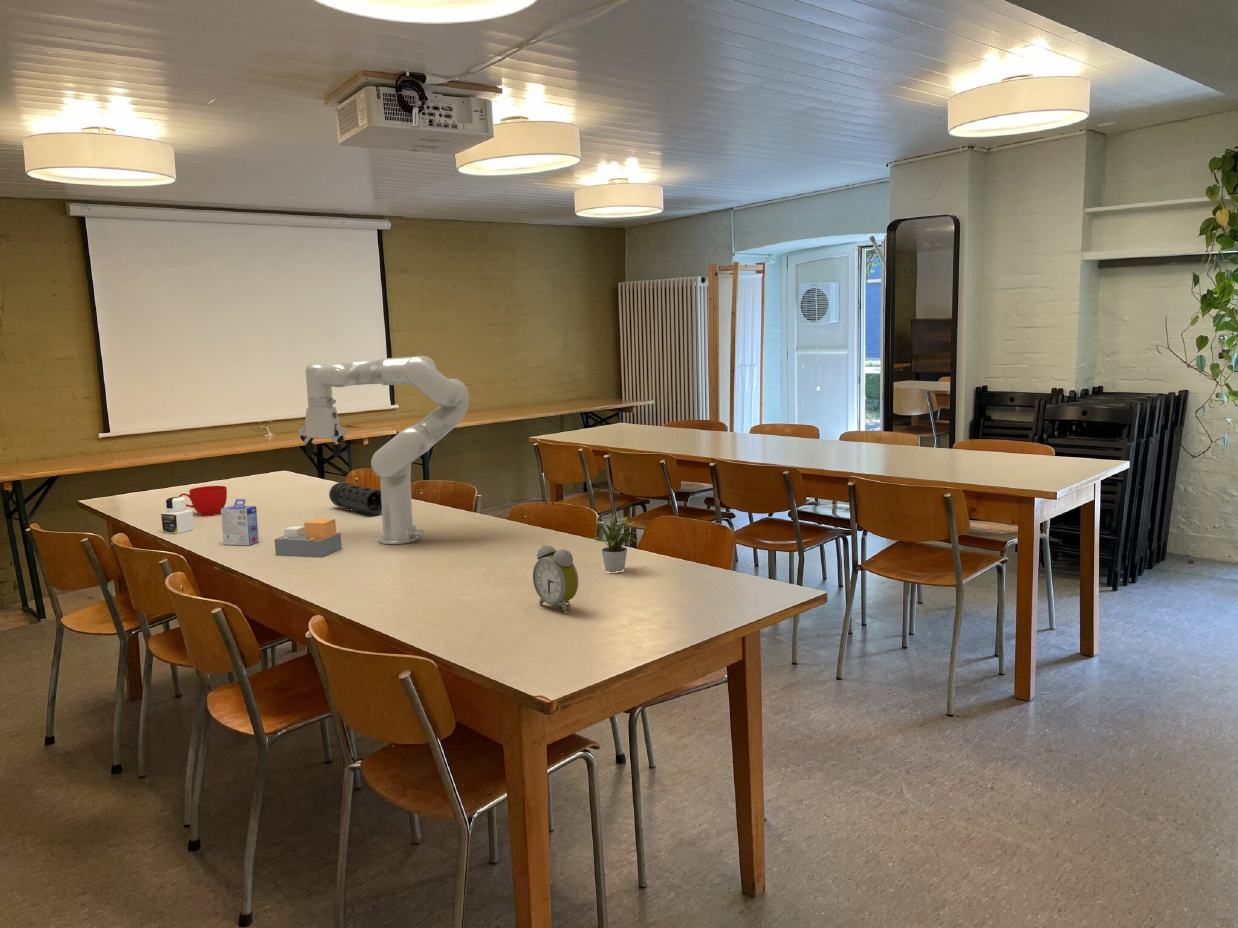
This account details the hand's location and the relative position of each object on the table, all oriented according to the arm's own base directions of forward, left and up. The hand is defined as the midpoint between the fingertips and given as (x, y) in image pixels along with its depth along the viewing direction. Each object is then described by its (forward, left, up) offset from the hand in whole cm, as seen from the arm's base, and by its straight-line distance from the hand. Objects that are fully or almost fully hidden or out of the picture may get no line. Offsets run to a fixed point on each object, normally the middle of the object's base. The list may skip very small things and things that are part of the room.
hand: (324, 456), depth 279 cm
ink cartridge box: (+28, +7, -29) cm, 41 cm away
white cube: (+4, +14, -25) cm, 28 cm away
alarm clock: (-95, +54, -28) cm, 113 cm away
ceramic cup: (+74, -33, -28) cm, 86 cm away
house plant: (-100, +21, -28) cm, 106 cm away
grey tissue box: (-1, +14, -28) cm, 31 cm away
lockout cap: (-6, +14, -23) cm, 27 cm away
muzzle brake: (+17, -47, -29) cm, 58 cm away
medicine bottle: (+63, -6, -28) cm, 69 cm away
